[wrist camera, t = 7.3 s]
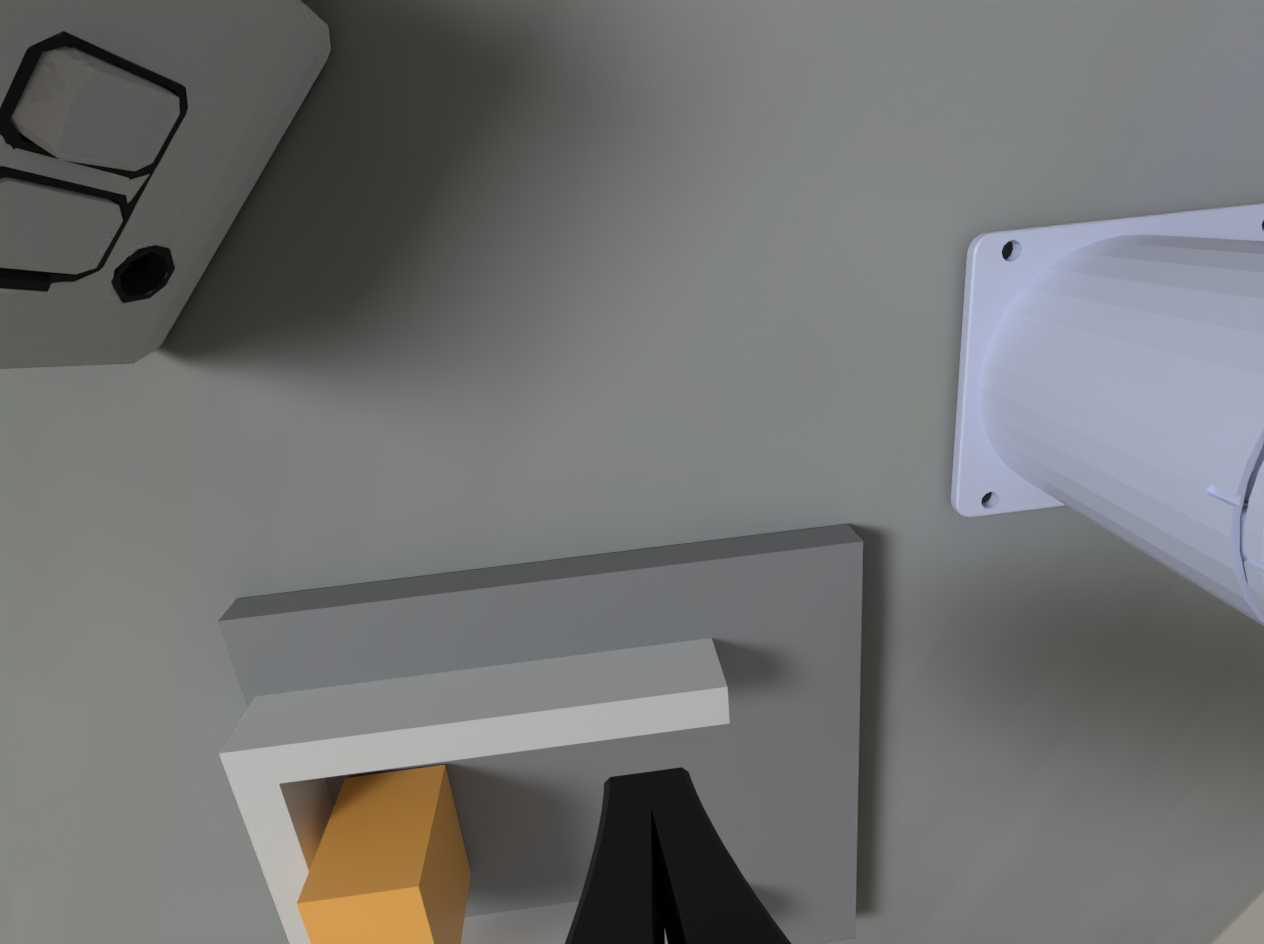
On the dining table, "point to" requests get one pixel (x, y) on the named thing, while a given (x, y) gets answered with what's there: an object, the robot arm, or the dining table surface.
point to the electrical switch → (132, 159)
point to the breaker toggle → (389, 864)
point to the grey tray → (570, 716)
